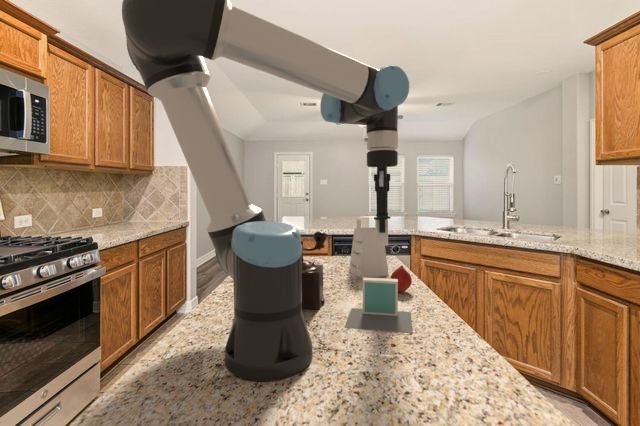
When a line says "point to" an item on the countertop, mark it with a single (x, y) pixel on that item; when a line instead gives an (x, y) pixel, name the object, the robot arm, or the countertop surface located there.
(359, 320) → the mat
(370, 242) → the grater
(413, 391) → the countertop surface
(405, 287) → the onion
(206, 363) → the countertop surface
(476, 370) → the countertop surface
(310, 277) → the manual coffee grinder
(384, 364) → the countertop surface
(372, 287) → the tile
